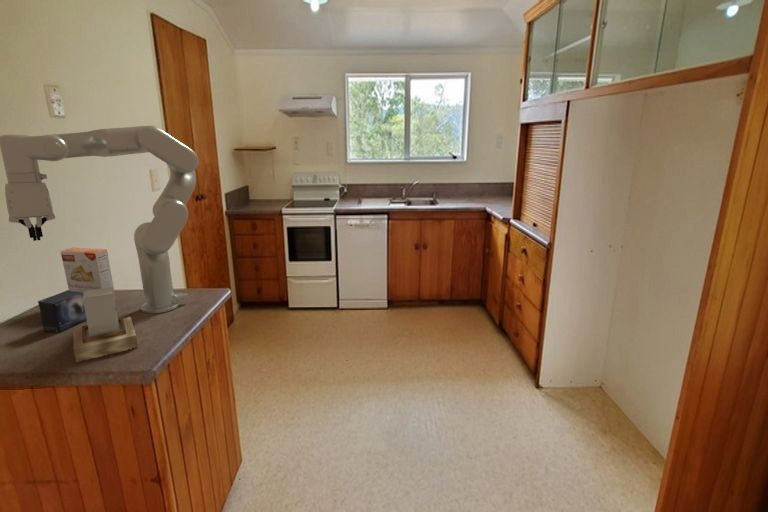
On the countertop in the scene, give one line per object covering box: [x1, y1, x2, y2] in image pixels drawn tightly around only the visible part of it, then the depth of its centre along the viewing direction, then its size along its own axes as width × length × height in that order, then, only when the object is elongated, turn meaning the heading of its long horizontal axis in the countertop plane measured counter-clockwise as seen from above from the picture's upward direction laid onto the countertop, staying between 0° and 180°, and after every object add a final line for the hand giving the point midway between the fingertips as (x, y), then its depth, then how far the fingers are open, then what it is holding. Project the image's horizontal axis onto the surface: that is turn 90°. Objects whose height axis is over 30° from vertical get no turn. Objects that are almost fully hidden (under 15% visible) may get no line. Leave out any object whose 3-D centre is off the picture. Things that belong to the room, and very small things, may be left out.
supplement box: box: [83, 286, 119, 337], centre depth 122 cm, size 7×7×13 cm
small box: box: [37, 289, 87, 334], centre depth 135 cm, size 11×6×10 cm, turn 168°
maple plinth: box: [72, 316, 139, 363], centre depth 124 cm, size 15×16×5 cm
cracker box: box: [60, 246, 117, 302], centre depth 152 cm, size 14×6×21 cm, turn 82°
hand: (37, 239), depth 125 cm, fingers closed
